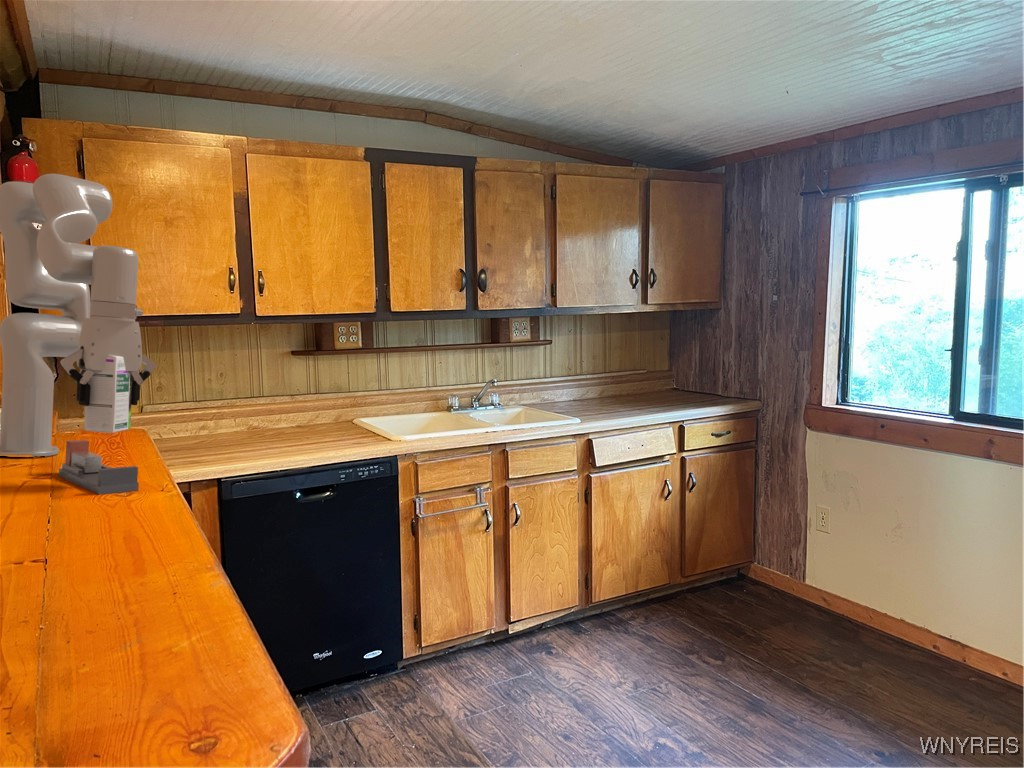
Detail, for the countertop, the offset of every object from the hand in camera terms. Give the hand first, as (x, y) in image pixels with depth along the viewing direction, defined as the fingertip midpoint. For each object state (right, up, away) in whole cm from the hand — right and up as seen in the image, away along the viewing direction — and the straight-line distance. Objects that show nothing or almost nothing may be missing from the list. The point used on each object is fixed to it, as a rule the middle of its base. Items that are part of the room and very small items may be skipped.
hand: (108, 404), depth 133 cm
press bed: (-4, -15, +3) cm, 16 cm away
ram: (-9, -13, +7) cm, 17 cm away
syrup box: (0, -5, 0) cm, 5 cm away
